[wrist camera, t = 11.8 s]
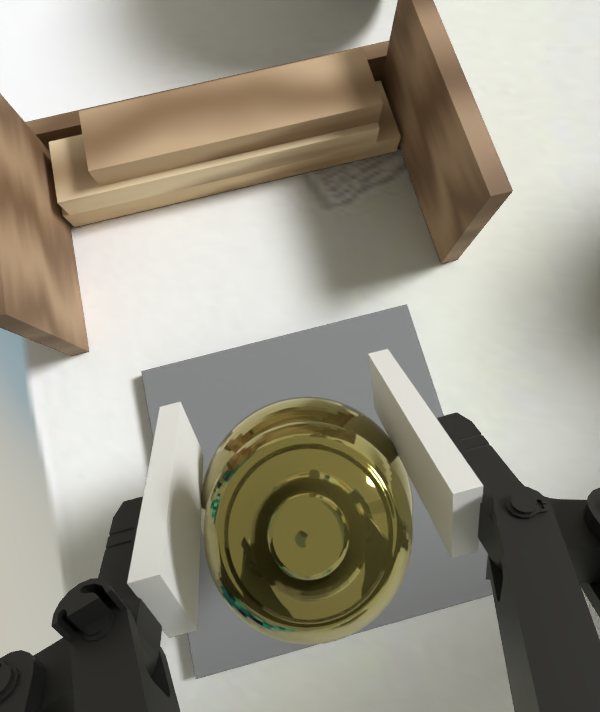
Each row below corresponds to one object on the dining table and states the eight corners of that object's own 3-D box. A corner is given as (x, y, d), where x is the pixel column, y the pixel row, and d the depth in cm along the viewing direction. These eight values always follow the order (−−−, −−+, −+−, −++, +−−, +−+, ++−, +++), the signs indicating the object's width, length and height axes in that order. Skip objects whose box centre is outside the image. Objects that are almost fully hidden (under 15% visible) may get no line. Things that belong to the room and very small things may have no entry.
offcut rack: (457, 259, 29) (512, 190, 21) (71, 355, 28) (-19, 319, 20) (389, 75, 33) (415, -42, 25) (43, 154, 32) (-44, 57, 24)
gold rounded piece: (190, 474, 19) (65, 500, 9) (321, 375, 20) (338, 301, 10) (288, 621, 17) (269, 841, 8) (423, 507, 18) (562, 572, 8)
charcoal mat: (495, 587, 25) (502, 591, 24) (199, 671, 24) (195, 679, 23) (403, 308, 28) (406, 304, 28) (145, 373, 28) (141, 371, 27)
